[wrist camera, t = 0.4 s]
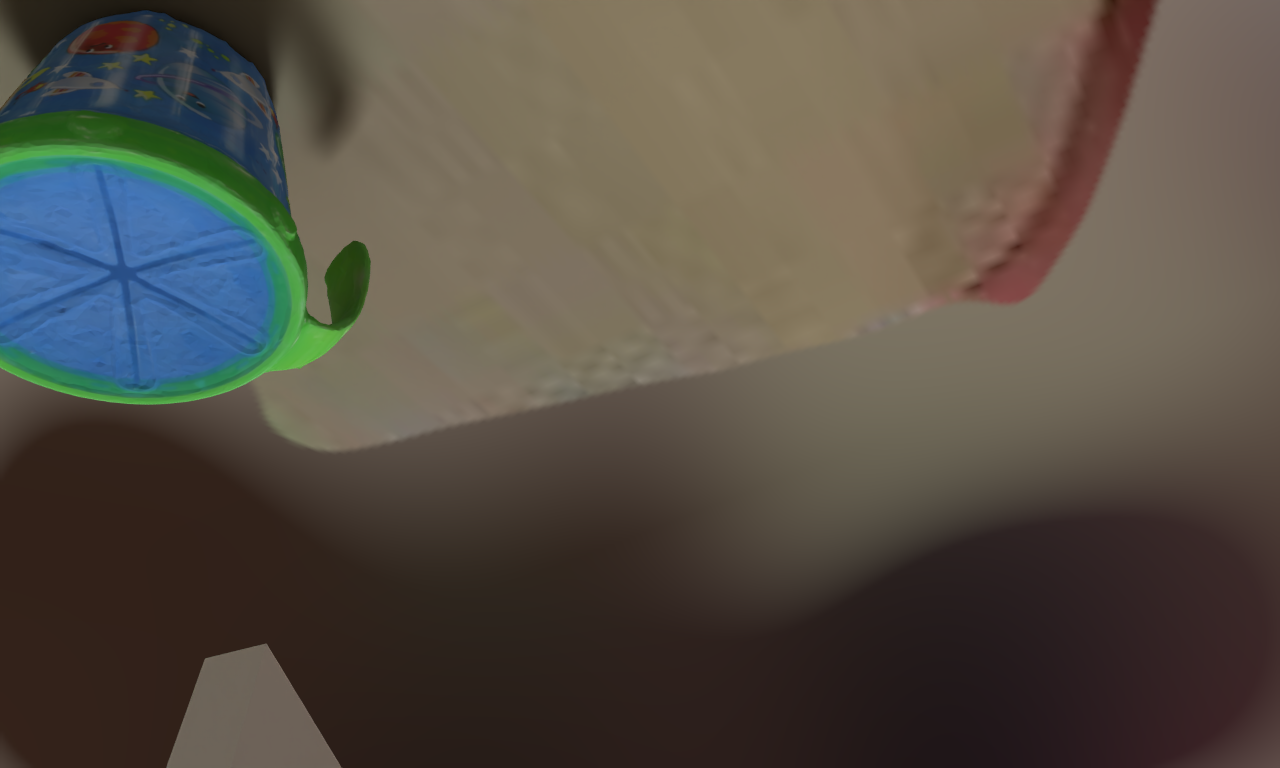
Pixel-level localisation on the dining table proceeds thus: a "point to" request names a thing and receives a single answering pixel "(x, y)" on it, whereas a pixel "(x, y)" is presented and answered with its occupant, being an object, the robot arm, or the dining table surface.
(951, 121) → the dining table surface
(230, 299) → the snack cup
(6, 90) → the dining table surface
